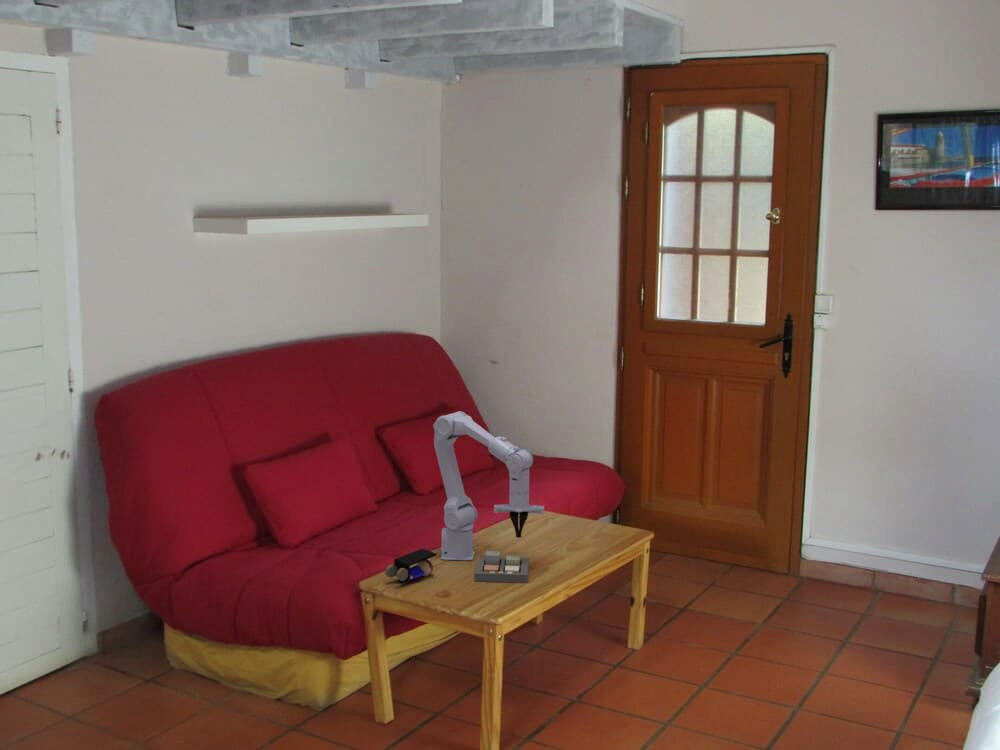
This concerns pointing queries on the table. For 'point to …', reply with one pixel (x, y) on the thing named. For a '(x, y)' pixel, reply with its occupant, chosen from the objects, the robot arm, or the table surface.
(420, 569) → the black toy vehicle
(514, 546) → the table surface
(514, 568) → the key cream
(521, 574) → the keypad bezel
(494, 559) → the key slate
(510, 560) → the key sage
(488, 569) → the key terracotta
